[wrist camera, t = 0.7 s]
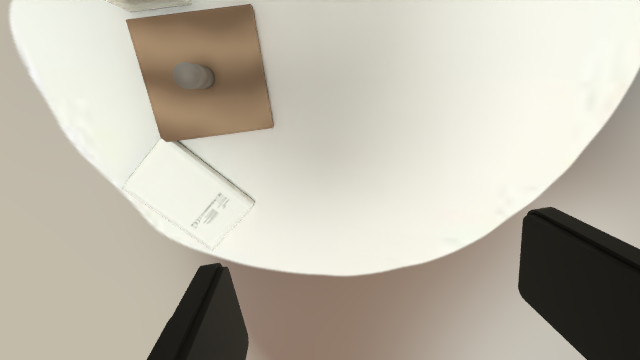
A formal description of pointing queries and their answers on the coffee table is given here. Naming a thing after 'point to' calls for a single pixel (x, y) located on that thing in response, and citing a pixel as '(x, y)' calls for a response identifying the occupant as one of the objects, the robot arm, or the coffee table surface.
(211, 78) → the shaft block
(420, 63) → the coffee table surface
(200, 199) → the external hard drive
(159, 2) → the grey hollow cube
